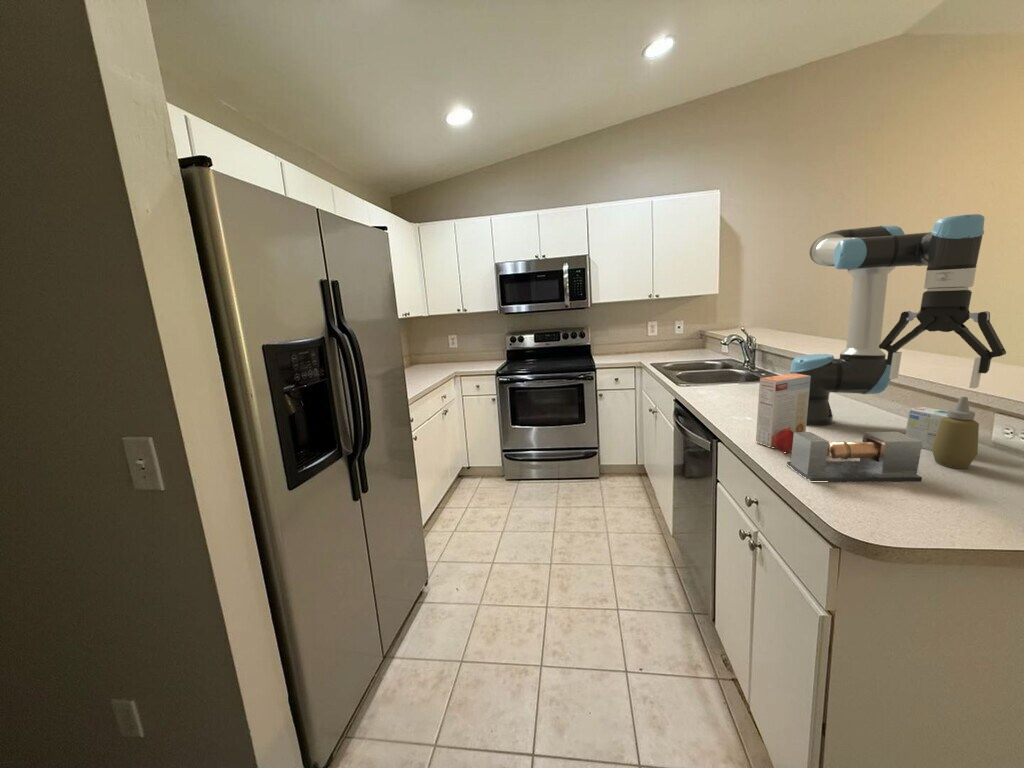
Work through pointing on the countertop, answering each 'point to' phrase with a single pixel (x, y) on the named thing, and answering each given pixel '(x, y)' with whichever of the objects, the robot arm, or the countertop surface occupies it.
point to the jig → (892, 465)
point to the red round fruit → (784, 440)
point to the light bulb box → (924, 424)
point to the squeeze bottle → (957, 437)
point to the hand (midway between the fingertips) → (931, 382)
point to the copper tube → (853, 450)
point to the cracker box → (782, 405)
